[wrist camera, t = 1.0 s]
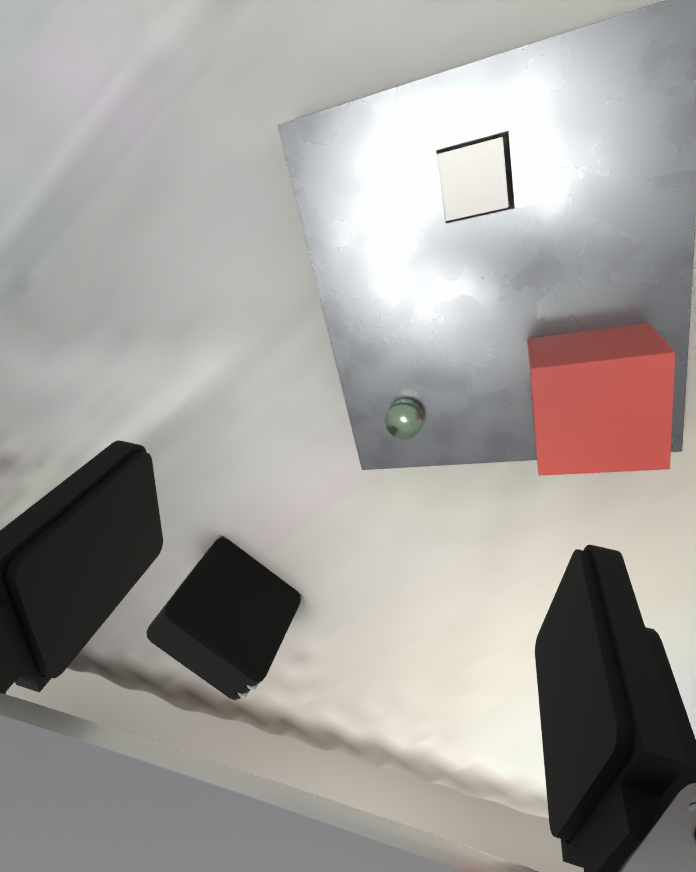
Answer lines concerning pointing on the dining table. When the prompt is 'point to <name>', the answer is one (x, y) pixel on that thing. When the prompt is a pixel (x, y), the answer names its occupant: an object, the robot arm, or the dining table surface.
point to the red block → (602, 400)
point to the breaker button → (473, 179)
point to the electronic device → (226, 620)
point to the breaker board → (501, 231)
